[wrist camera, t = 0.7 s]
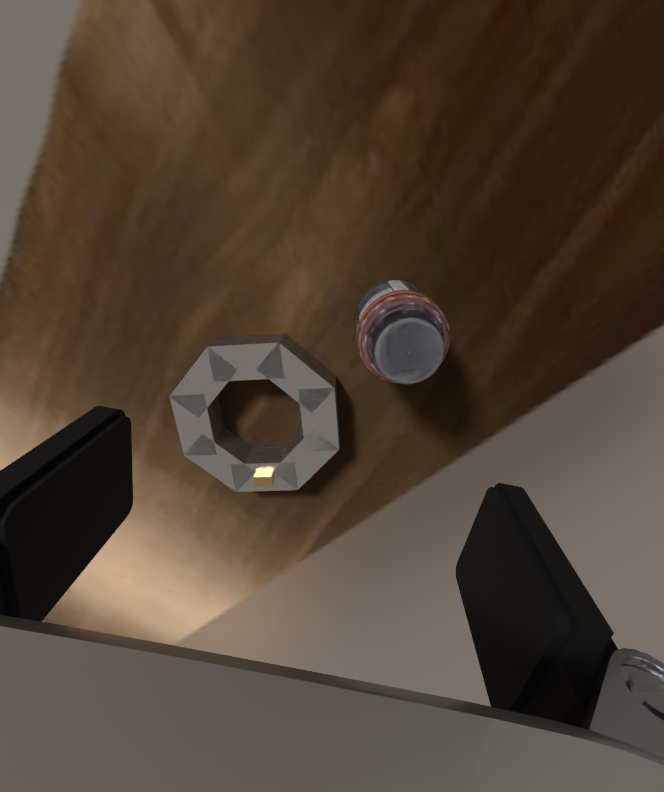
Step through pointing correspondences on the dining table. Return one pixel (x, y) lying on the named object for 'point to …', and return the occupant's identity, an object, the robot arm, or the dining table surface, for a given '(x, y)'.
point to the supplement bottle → (401, 332)
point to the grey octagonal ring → (226, 450)
